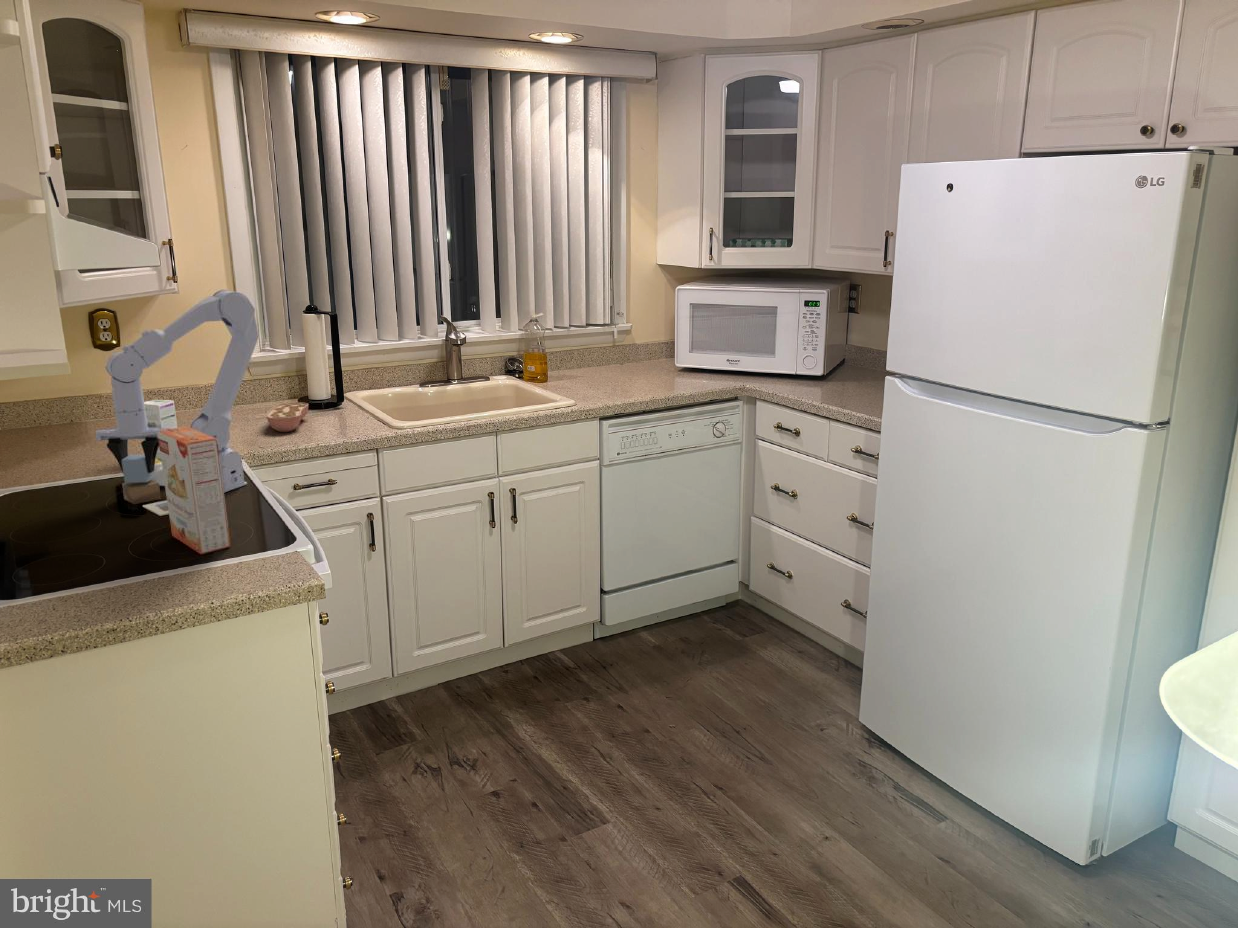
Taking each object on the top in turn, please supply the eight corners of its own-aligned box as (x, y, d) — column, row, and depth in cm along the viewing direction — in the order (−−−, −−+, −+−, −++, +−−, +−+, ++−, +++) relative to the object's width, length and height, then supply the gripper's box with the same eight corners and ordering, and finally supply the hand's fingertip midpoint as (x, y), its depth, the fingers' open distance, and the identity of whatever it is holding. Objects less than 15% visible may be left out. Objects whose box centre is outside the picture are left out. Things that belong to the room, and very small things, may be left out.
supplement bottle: (161, 456, 215) (177, 464, 209) (162, 478, 217) (178, 487, 210) (136, 458, 212) (152, 466, 205) (137, 481, 213) (153, 490, 206)
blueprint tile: (189, 509, 193) (189, 507, 193) (160, 515, 189) (159, 513, 189) (172, 500, 199) (171, 498, 199) (142, 506, 195) (142, 505, 195)
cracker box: (169, 537, 176) (155, 430, 171) (202, 530, 180) (188, 425, 175) (198, 556, 167) (184, 442, 161) (232, 547, 171) (218, 437, 165)
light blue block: (154, 476, 202) (151, 454, 201) (147, 482, 198) (144, 459, 196) (132, 477, 201) (129, 454, 200) (124, 482, 197) (121, 460, 196)
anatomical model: (300, 434, 260) (298, 417, 259) (262, 436, 258) (260, 418, 257) (311, 417, 282) (310, 401, 281) (277, 419, 280) (275, 403, 279)
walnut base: (160, 498, 201) (158, 483, 200) (134, 504, 197) (131, 488, 196) (150, 493, 204) (148, 478, 203) (124, 499, 200) (122, 483, 199)
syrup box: (182, 455, 237) (175, 399, 233) (165, 461, 231) (157, 404, 228) (163, 454, 238) (156, 398, 235) (146, 459, 233) (138, 403, 229)
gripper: (172, 405, 200) (180, 466, 204) (101, 406, 198) (110, 468, 202) (161, 411, 193) (169, 474, 197) (87, 413, 192) (97, 477, 195)
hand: (138, 472), depth 199 cm, fingers closed on light blue block, 4 cm apart
